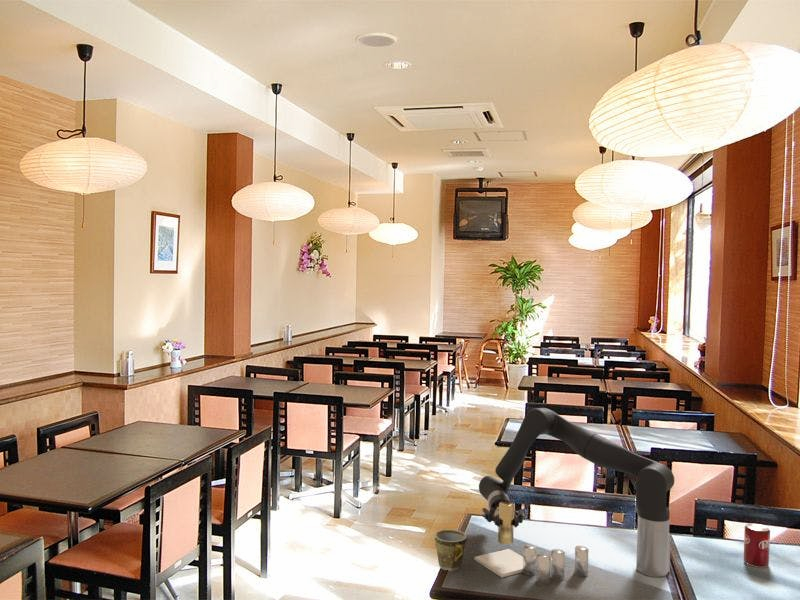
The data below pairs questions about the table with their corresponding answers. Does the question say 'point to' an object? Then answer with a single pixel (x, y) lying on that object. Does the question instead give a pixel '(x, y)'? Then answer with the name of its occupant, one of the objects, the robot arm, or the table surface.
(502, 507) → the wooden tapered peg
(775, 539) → the table surface
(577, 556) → the spacers
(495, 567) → the pad
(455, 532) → the ceramic cup
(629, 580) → the table surface
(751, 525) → the soda can
